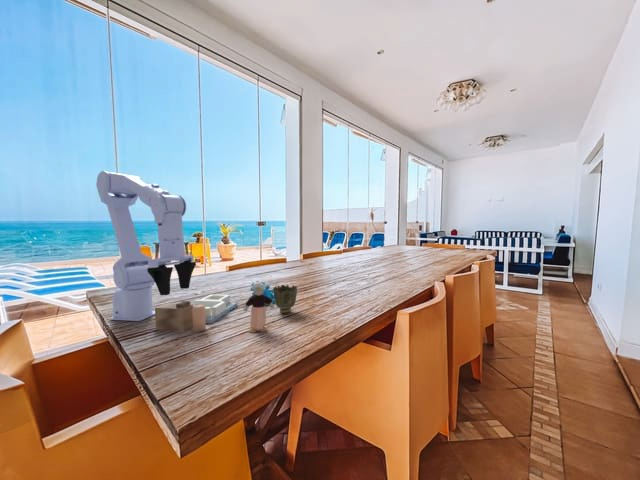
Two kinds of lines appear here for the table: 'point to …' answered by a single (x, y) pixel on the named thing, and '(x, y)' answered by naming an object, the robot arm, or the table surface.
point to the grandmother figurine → (258, 307)
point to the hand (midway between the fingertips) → (175, 291)
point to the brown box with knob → (174, 316)
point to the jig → (216, 306)
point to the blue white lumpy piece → (266, 292)
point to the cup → (285, 298)
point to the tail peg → (198, 317)
